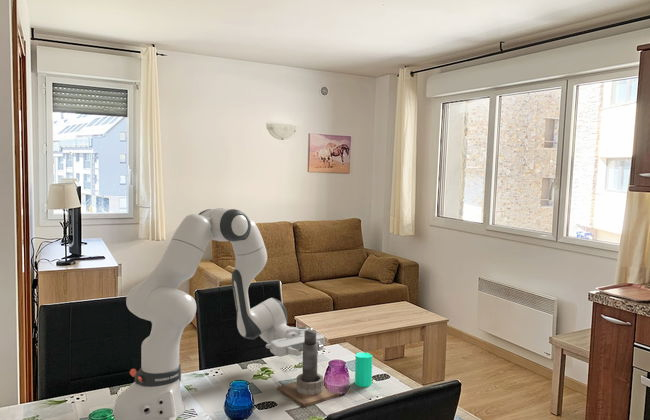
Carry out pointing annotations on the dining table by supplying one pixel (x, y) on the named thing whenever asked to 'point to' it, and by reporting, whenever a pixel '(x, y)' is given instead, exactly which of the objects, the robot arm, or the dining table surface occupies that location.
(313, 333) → the pepper mill
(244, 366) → the dining table surface
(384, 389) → the dining table surface
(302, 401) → the ring holder
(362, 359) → the candle
